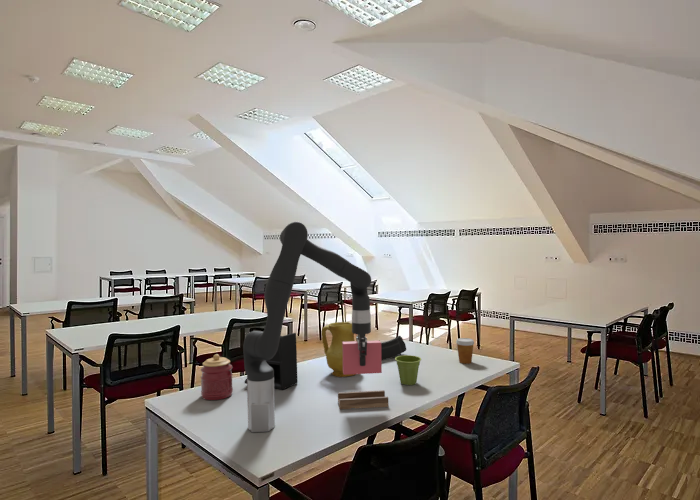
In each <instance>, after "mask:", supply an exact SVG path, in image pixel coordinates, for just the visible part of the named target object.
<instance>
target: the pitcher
mask: <svg viewBox="0 0 700 500" xmlns="http://www.w3.org/2000/svg"><path fill="white" fill-rule="evenodd" d="M327 331H329V332H330V334H331V336H332V337H331V342H330V345H329V344H328V340H327ZM321 340H322V344H323V345H322V346H323V350H324V351H323V352H324V354H325V358H326V359H325V361H326V363H327V366H328V368H329V369H331V370H332V372H331V375H332V376H333V377H340V378H343V377H344V378H345V377H353V376H355V375H357V374H347V375H344V374H343V351H342V342H350V341H356V339H355V334H354V333H352V322H350V321H338V322H330V323H329V324H327V325H325V326H323V327H322V329H321Z"/></svg>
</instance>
